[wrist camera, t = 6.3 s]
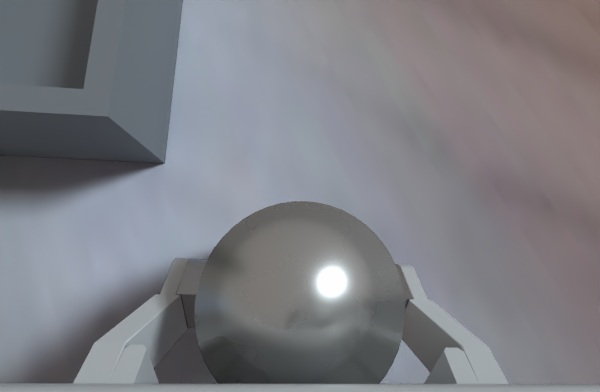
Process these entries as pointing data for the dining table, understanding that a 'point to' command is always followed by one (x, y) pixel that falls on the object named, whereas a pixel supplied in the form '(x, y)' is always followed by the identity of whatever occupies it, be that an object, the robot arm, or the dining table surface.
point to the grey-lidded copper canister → (299, 300)
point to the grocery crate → (87, 78)
